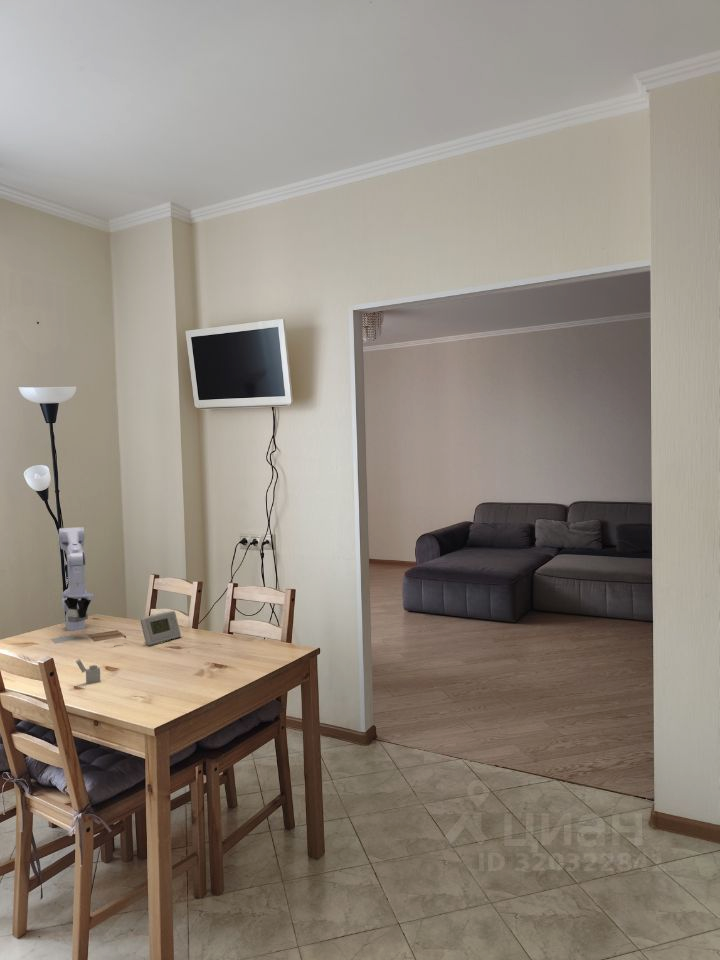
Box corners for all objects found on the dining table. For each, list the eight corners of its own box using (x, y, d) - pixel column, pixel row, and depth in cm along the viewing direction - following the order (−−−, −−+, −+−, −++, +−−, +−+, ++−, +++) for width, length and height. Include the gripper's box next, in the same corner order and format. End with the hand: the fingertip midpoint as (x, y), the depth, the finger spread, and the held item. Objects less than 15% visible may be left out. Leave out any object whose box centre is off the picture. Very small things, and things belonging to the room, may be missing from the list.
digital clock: (146, 647, 262) (145, 619, 262) (136, 643, 269) (135, 616, 269) (185, 639, 273) (184, 612, 273) (174, 635, 280) (174, 609, 279)
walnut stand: (87, 638, 276) (86, 635, 276) (117, 633, 283) (117, 630, 283) (94, 645, 267) (94, 641, 267) (126, 639, 274) (125, 636, 273)
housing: (68, 621, 270) (67, 609, 269) (80, 618, 275) (79, 605, 275) (75, 622, 268) (75, 609, 268) (87, 618, 274) (87, 606, 273)
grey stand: (50, 642, 272) (50, 639, 271) (72, 639, 276) (72, 635, 276) (54, 647, 265) (54, 643, 265) (76, 643, 270) (76, 639, 269)
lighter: (99, 679, 225) (98, 655, 225) (100, 681, 223) (99, 656, 223) (76, 684, 221) (75, 659, 221) (77, 685, 220) (76, 660, 219)
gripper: (55, 583, 270) (56, 617, 271) (83, 585, 265) (85, 620, 265) (68, 580, 277) (70, 613, 277) (97, 582, 271) (98, 616, 272)
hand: (78, 616), depth 272 cm, fingers closed on housing, 4 cm apart
